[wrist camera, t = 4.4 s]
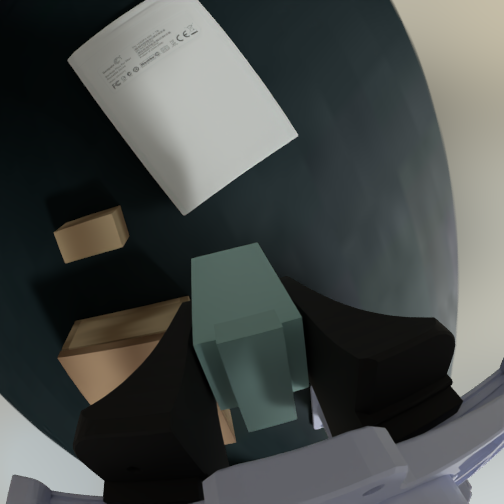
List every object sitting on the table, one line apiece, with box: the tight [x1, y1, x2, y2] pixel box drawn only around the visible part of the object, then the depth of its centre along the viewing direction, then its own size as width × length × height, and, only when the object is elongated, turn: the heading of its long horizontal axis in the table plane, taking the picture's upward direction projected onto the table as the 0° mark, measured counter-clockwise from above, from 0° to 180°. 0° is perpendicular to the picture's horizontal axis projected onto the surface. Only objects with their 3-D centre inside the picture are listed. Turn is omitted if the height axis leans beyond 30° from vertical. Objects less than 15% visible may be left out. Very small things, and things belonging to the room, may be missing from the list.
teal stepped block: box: [191, 243, 309, 432], centre depth 11 cm, size 3×4×7 cm
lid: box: [58, 332, 236, 445], centre depth 17 cm, size 9×12×3 cm
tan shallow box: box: [54, 206, 234, 433], centre depth 19 cm, size 9×19×3 cm, turn 11°
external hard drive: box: [67, 0, 298, 215], centre depth 15 cm, size 2×8×12 cm
